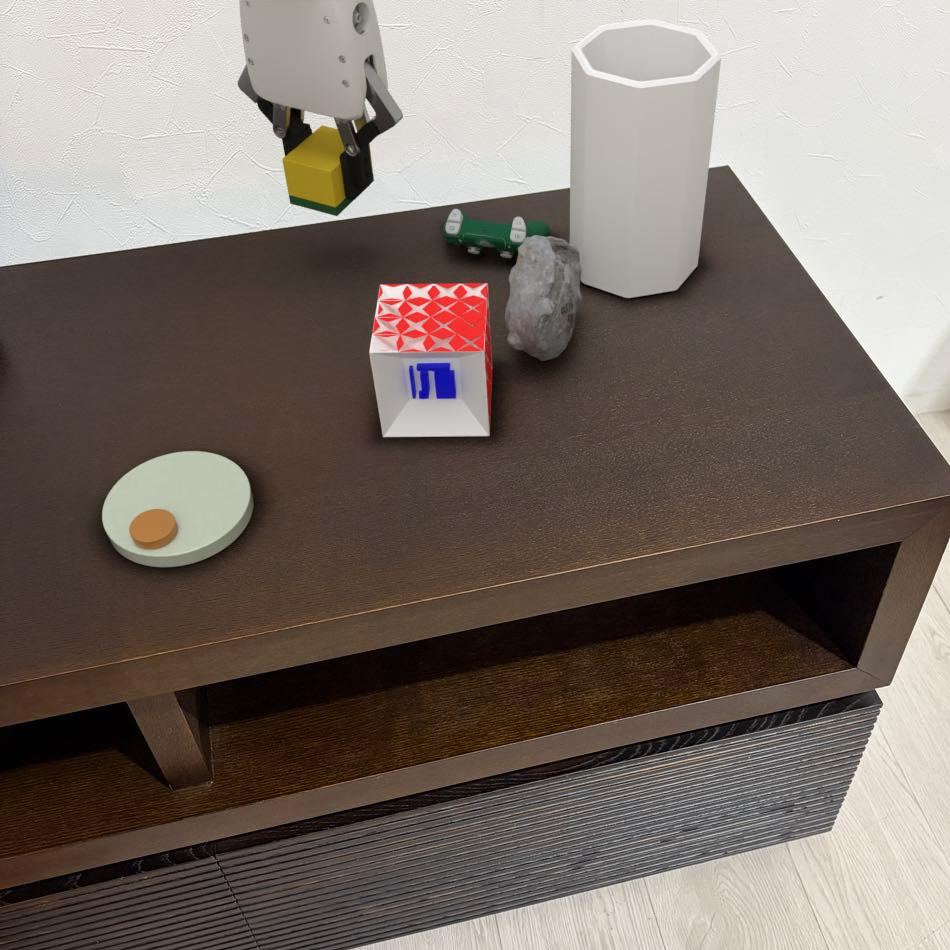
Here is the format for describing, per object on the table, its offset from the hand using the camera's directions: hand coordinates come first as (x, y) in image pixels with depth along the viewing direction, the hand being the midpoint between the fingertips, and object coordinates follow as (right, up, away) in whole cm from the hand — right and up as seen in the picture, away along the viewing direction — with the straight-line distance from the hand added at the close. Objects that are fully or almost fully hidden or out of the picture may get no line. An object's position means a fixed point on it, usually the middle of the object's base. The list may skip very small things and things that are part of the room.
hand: (331, 182), depth 91 cm
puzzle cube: (+10, -19, -7) cm, 22 cm away
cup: (+25, -5, +5) cm, 26 cm away
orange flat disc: (-8, -29, -17) cm, 35 cm away
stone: (+18, -14, -3) cm, 23 cm away
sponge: (0, -1, +1) cm, 1 cm away
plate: (-8, -28, -15) cm, 32 cm away
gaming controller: (+13, -4, +7) cm, 15 cm away
